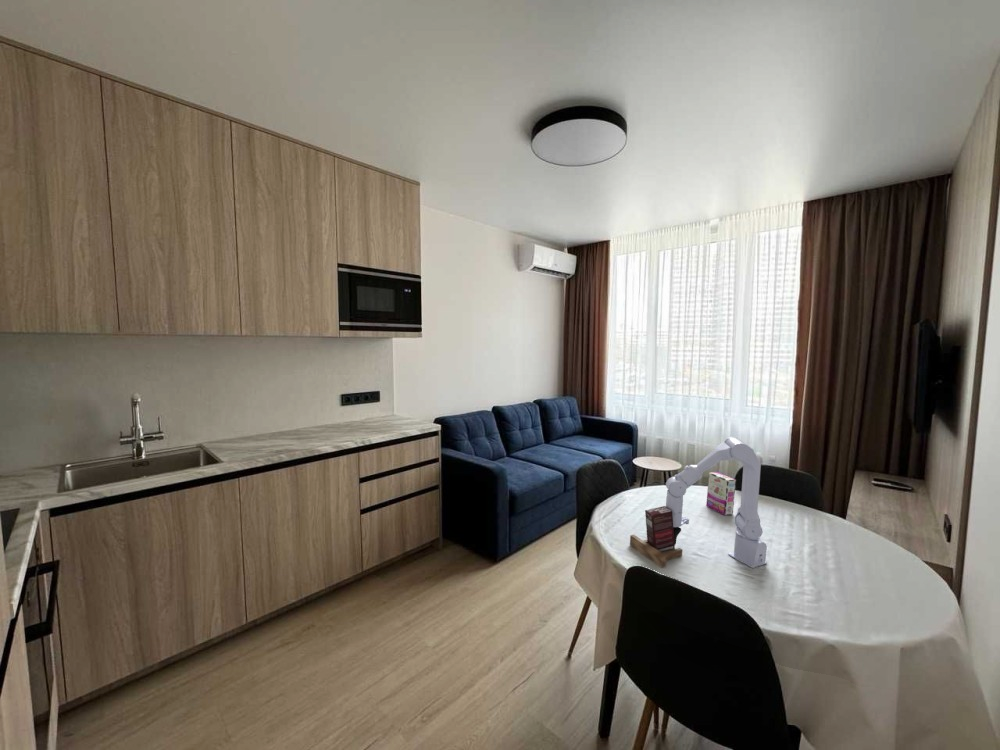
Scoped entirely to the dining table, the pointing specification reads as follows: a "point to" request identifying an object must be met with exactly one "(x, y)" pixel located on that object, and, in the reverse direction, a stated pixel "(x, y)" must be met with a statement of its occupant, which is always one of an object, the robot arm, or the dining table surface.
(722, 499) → the candy bar box
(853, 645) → the dining table surface
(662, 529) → the supplement box
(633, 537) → the end holder
